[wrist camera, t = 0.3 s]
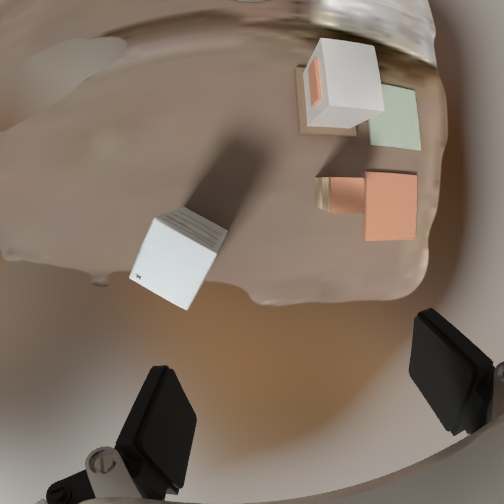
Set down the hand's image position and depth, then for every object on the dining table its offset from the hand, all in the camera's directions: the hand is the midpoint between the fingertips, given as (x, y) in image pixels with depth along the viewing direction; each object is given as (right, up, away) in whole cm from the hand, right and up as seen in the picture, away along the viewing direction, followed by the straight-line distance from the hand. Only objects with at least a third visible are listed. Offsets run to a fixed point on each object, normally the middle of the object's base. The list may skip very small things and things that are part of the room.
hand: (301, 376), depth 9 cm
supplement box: (-10, +6, +29) cm, 32 cm away
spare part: (+9, +13, +27) cm, 31 cm away
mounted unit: (+8, +25, +24) cm, 36 cm away
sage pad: (+19, +25, +24) cm, 40 cm away
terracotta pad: (+19, +11, +28) cm, 35 cm away
